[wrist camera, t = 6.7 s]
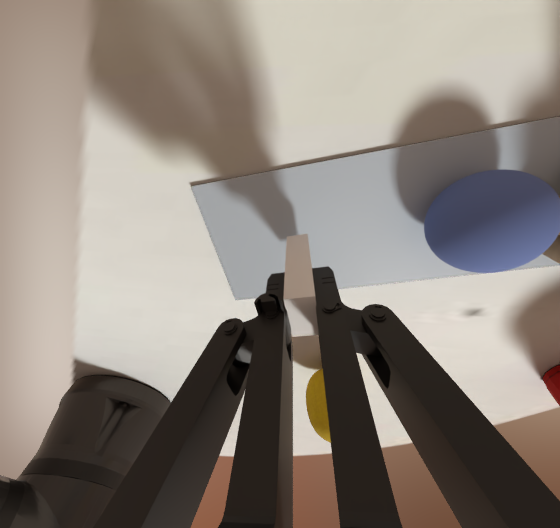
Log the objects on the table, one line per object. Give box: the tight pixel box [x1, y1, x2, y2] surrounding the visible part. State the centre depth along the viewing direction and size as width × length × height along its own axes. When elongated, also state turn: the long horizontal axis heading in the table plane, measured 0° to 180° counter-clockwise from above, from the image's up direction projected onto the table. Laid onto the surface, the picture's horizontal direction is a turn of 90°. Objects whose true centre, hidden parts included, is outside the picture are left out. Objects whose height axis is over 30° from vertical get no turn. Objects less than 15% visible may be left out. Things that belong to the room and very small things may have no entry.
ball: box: [424, 169, 560, 273], centre depth 13 cm, size 6×6×6 cm
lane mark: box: [191, 116, 560, 300], centre depth 17 cm, size 29×11×1 cm, turn 101°
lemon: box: [306, 369, 331, 442], centre depth 24 cm, size 6×6×8 cm
